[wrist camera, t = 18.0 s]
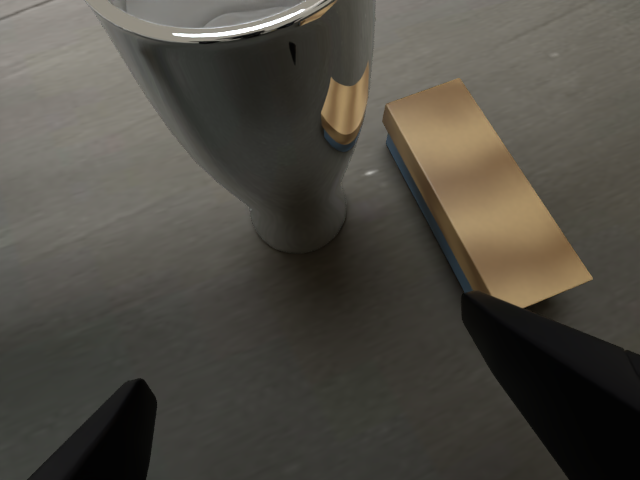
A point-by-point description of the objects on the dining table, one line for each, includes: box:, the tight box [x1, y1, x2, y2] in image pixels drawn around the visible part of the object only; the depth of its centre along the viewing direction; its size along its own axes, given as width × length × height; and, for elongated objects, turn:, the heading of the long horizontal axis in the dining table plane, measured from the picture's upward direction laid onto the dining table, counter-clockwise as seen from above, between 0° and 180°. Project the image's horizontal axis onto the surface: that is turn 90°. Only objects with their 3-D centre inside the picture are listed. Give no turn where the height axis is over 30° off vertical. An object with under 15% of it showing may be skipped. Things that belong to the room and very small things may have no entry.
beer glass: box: [84, 0, 376, 254], centre depth 14 cm, size 7×7×15 cm
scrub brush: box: [382, 78, 593, 308], centre depth 19 cm, size 13×5×3 cm, turn 21°
